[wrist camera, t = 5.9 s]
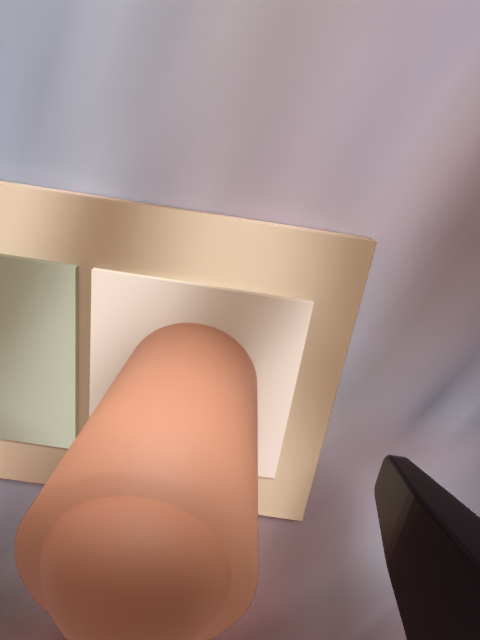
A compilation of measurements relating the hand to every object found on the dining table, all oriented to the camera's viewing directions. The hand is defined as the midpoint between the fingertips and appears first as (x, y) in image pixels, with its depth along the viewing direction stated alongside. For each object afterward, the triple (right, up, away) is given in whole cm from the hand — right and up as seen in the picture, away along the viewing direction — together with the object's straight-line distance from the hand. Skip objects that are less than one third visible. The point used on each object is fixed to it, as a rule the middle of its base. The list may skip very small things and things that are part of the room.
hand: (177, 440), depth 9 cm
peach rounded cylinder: (0, +1, +2) cm, 3 cm away
